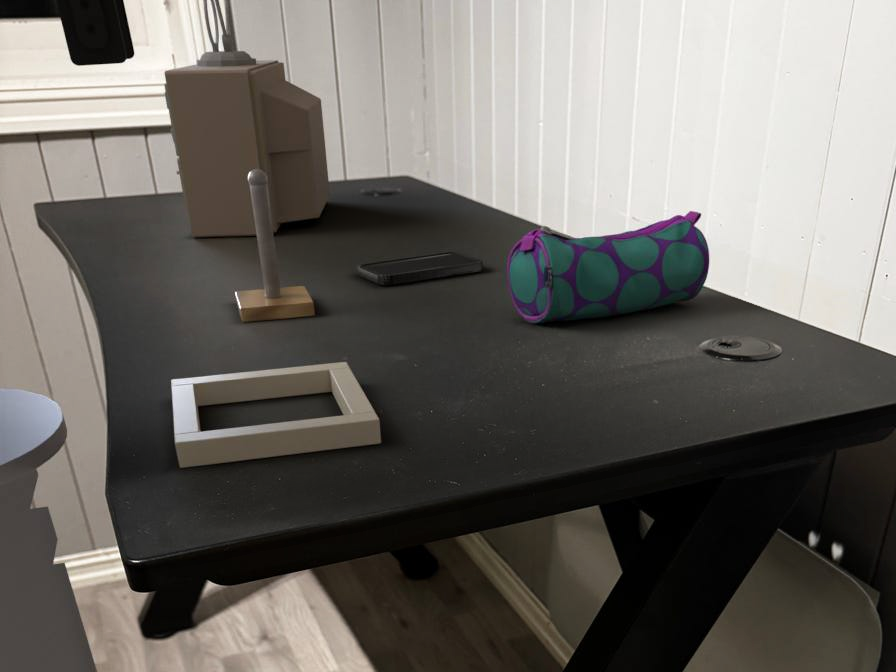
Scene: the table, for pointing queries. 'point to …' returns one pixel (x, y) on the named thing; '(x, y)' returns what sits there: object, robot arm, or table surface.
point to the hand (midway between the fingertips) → (106, 61)
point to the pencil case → (607, 271)
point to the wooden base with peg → (269, 268)
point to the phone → (419, 268)
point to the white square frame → (274, 438)
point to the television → (244, 139)
